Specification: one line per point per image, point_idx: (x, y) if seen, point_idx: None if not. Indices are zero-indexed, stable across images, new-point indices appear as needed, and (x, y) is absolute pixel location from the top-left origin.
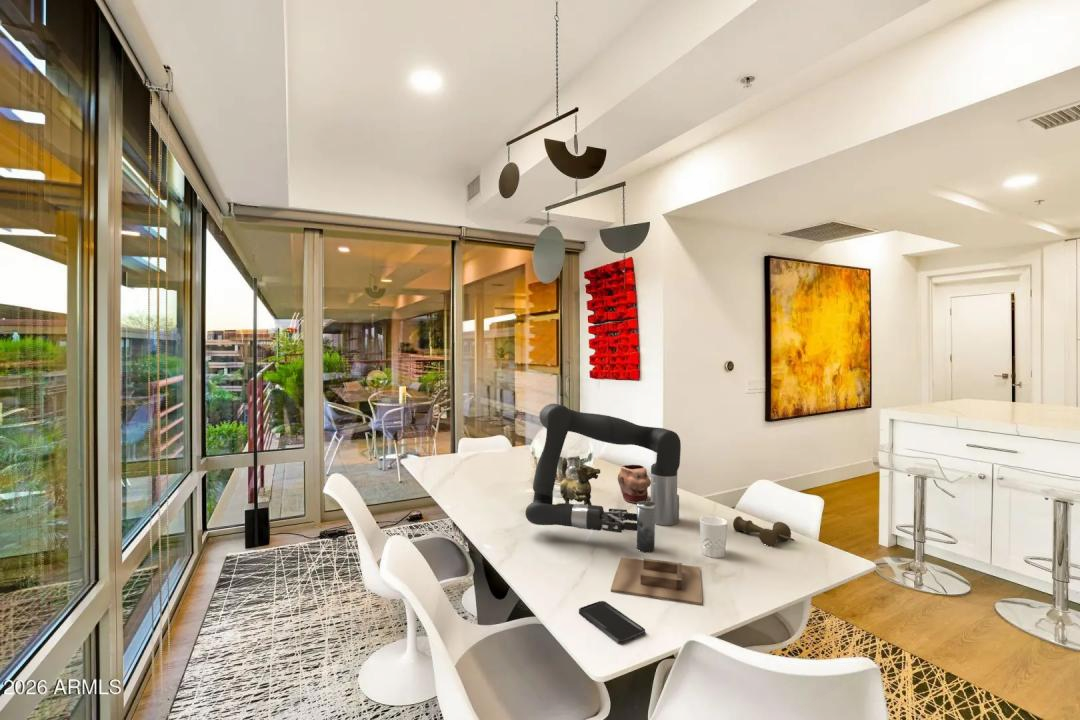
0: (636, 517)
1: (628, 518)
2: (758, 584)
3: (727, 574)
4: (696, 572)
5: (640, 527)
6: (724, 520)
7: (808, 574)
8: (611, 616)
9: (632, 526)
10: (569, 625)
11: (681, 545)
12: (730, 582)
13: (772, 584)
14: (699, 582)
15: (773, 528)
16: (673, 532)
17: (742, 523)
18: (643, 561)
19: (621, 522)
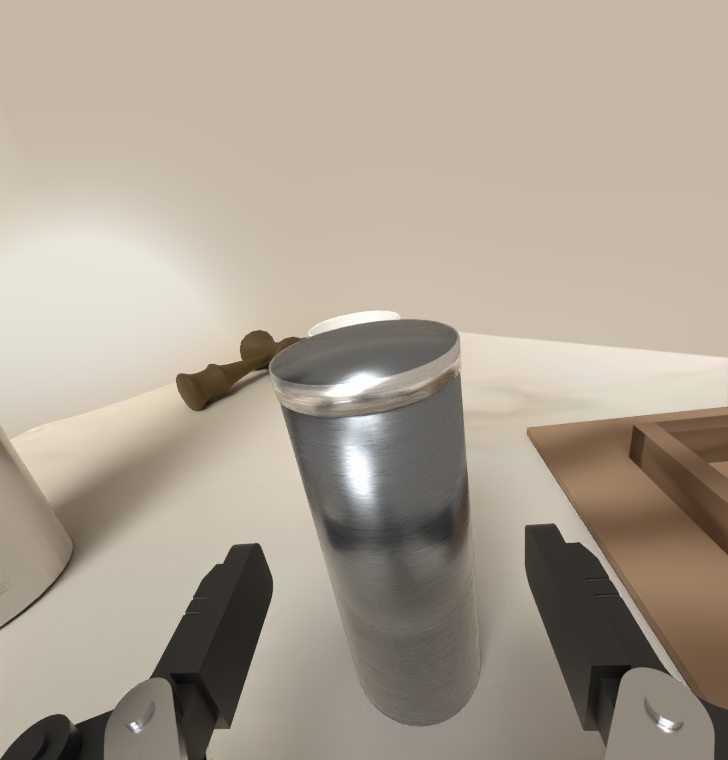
0: (252, 594)
1: (222, 713)
2: (524, 363)
3: (511, 394)
4: (582, 429)
5: (464, 548)
6: (340, 318)
7: None
8: None
9: (603, 576)
10: None
11: None
12: (560, 387)
13: (505, 354)
14: (660, 416)
15: (254, 349)
16: (165, 535)
17: (210, 377)
18: (685, 622)
19: (712, 731)
